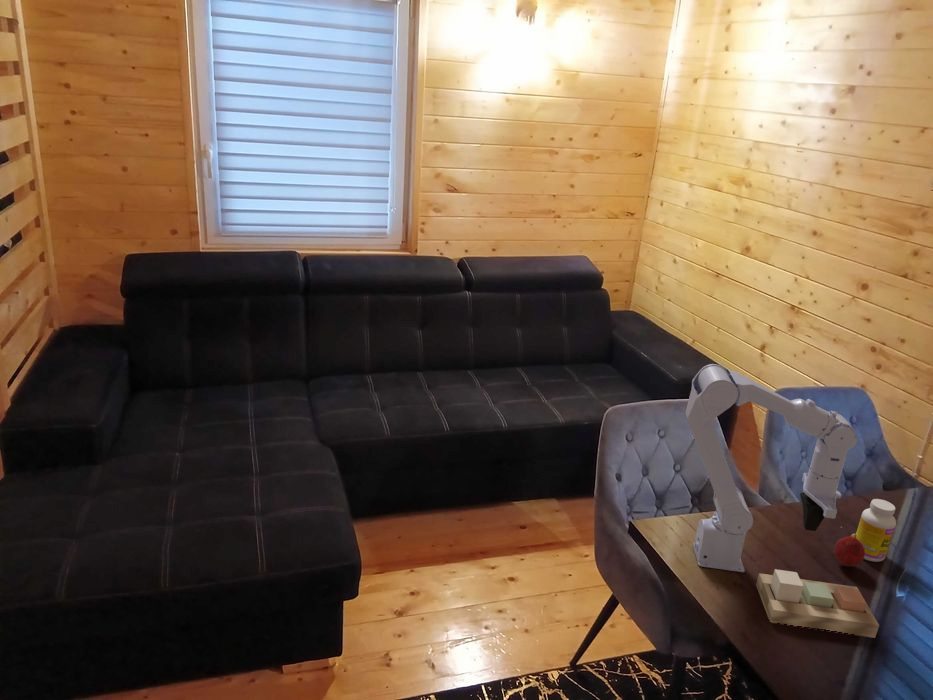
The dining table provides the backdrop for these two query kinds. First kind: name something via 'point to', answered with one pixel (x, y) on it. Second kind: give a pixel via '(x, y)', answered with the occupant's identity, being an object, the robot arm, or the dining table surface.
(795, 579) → the cream key
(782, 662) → the dining table surface
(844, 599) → the salmon pink cube
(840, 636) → the dining table surface
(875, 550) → the supplement bottle
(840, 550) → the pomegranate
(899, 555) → the dining table surface
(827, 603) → the sage key
